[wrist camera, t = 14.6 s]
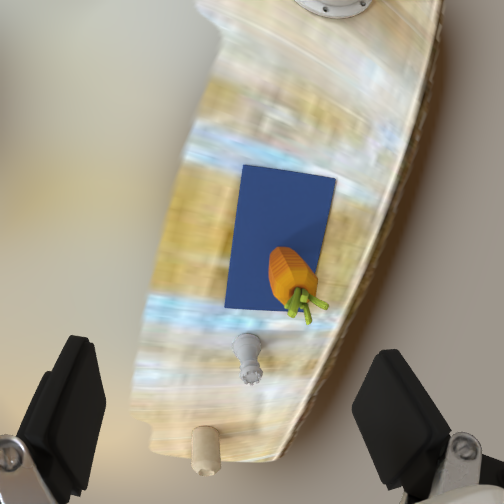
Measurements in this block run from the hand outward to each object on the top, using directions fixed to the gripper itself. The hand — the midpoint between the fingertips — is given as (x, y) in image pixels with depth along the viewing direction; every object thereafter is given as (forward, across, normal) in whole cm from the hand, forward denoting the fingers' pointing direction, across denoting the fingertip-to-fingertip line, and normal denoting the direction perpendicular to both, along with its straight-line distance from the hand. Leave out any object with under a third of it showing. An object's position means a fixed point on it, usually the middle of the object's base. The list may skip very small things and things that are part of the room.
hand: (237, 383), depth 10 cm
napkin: (+32, -9, +8) cm, 34 cm away
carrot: (+32, -9, +8) cm, 34 cm away
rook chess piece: (+32, -6, +24) cm, 41 cm away
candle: (+32, -1, +49) cm, 59 cm away
